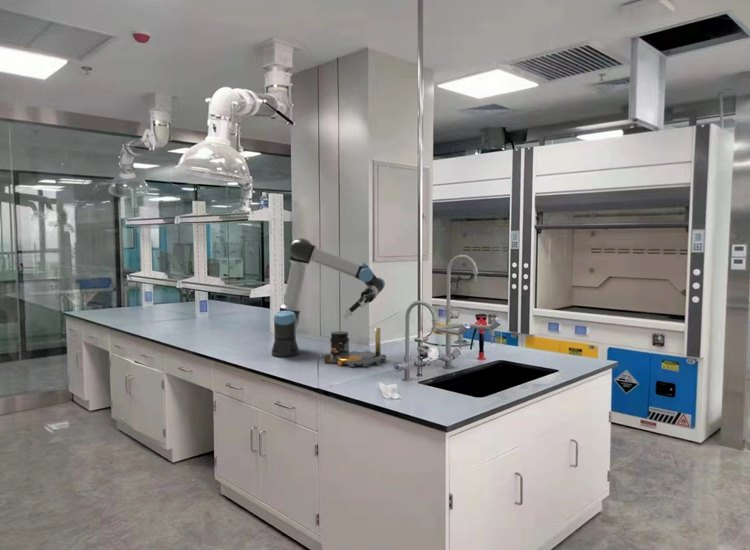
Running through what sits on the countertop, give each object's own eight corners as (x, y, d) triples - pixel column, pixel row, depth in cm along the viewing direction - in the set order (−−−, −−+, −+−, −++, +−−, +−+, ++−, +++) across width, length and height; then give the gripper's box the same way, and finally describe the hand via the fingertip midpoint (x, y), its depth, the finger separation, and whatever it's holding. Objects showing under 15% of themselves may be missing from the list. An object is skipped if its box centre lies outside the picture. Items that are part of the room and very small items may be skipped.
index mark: (324, 363, 265) (324, 355, 265) (324, 361, 269) (324, 353, 269) (330, 363, 266) (330, 355, 265) (330, 361, 270) (330, 353, 269)
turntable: (332, 367, 254) (332, 335, 253) (332, 355, 281) (332, 326, 280) (389, 366, 256) (388, 333, 255) (383, 354, 284) (383, 325, 283)
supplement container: (326, 354, 287) (326, 332, 287) (341, 351, 294) (341, 330, 294) (337, 357, 279) (337, 335, 279) (353, 354, 286) (353, 332, 286)
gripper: (388, 288, 286) (373, 306, 269) (358, 309, 300) (342, 326, 283) (380, 278, 286) (364, 295, 268) (350, 299, 300) (333, 316, 282)
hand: (353, 311), depth 275 cm, fingers open, 13 cm apart
